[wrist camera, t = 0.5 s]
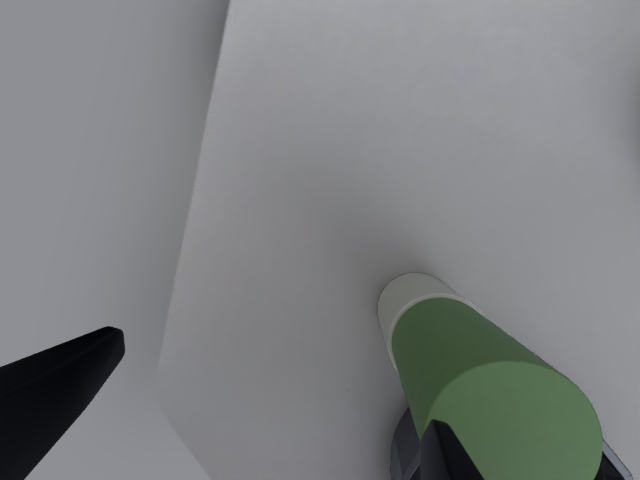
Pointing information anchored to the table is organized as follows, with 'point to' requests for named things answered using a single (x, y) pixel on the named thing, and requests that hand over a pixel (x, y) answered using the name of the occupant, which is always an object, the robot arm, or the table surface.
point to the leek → (486, 386)
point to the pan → (406, 455)
